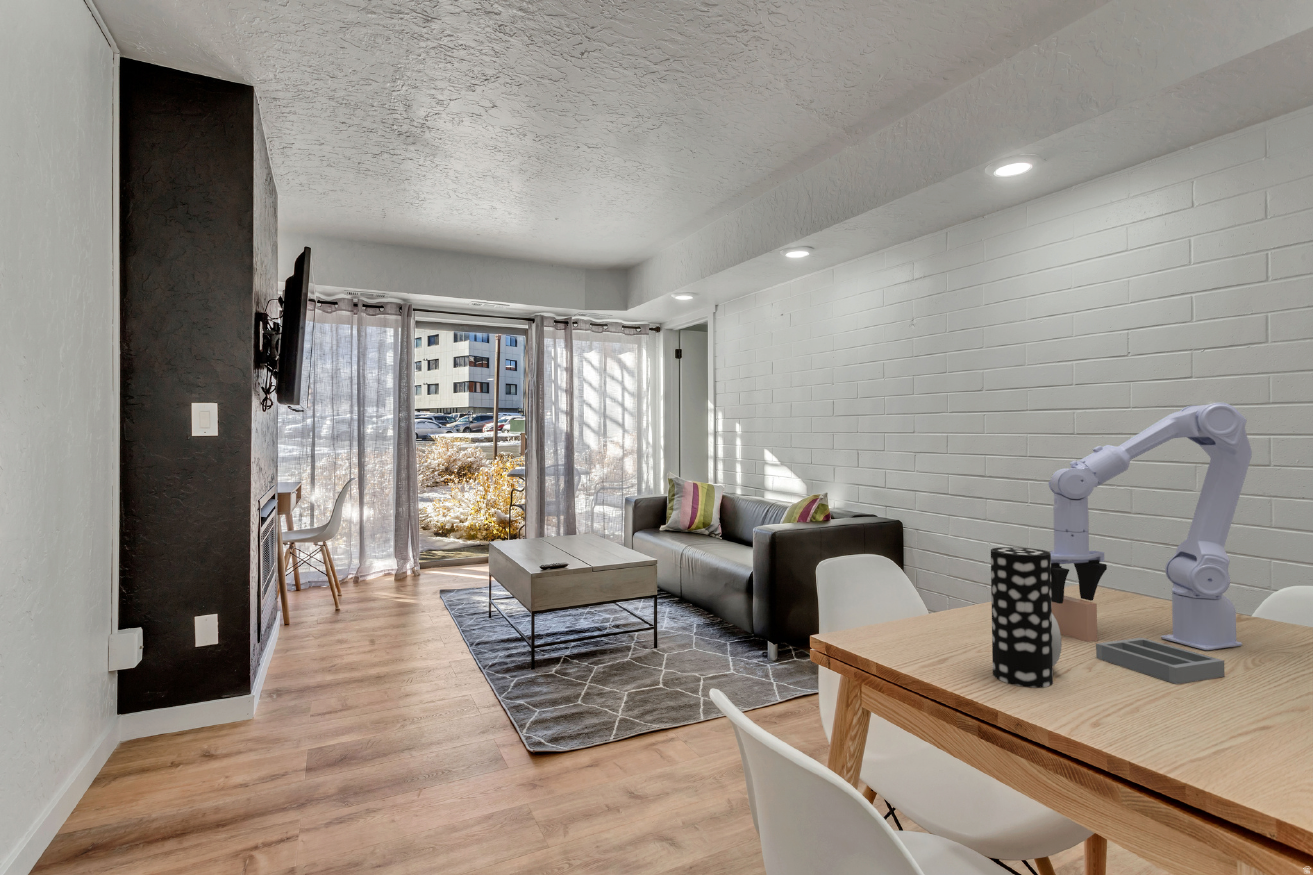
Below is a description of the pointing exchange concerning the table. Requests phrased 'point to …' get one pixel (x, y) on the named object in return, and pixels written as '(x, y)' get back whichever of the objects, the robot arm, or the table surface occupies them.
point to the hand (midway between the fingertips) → (1071, 600)
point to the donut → (1055, 641)
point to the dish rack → (1160, 660)
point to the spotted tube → (1021, 616)
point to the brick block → (1076, 618)
